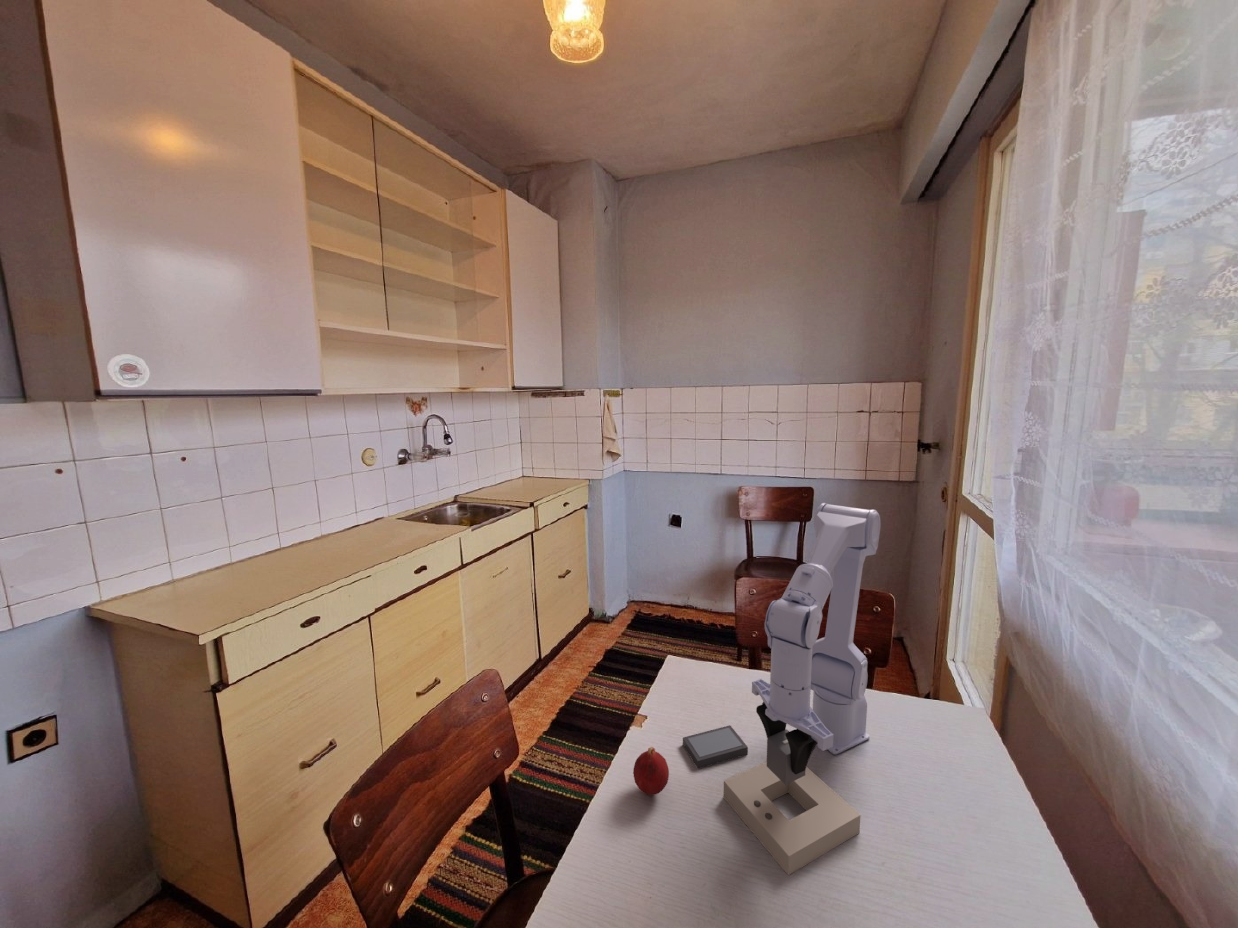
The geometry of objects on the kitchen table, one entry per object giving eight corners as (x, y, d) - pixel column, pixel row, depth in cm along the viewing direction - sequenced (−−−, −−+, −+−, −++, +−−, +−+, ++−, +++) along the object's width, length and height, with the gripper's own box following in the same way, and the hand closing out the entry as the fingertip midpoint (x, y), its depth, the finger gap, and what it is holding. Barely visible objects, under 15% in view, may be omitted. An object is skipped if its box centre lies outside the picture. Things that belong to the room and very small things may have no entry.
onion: (667, 810, 74) (666, 765, 73) (630, 804, 75) (630, 760, 74) (670, 780, 80) (670, 738, 79) (636, 775, 81) (636, 734, 80)
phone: (730, 734, 91) (730, 724, 91) (747, 756, 85) (747, 746, 85) (682, 747, 88) (682, 737, 88) (697, 771, 82) (697, 760, 82)
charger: (785, 757, 76) (786, 728, 75) (805, 775, 72) (806, 745, 71) (766, 766, 74) (767, 736, 73) (785, 784, 71) (786, 754, 70)
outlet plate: (788, 766, 82) (789, 750, 82) (859, 832, 70) (860, 813, 69) (723, 796, 77) (723, 779, 76) (788, 875, 64) (789, 855, 64)
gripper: (737, 661, 76) (736, 737, 78) (808, 716, 63) (804, 806, 65) (771, 650, 79) (769, 724, 81) (846, 700, 66) (841, 787, 68)
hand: (787, 760), depth 73 cm, fingers closed on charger, 4 cm apart
